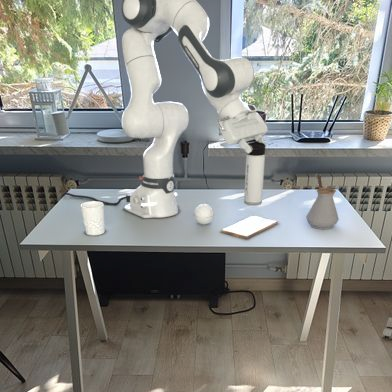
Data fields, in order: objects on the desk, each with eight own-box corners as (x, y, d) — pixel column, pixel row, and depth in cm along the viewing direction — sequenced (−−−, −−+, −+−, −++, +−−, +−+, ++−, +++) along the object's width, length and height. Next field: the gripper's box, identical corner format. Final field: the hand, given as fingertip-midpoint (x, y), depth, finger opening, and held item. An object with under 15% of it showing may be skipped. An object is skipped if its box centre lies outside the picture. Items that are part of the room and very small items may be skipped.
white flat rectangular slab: (221, 232, 179) (221, 229, 178) (252, 217, 191) (253, 215, 191) (246, 239, 173) (246, 236, 172) (277, 223, 186) (277, 221, 185)
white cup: (96, 237, 175) (92, 209, 170) (79, 233, 179) (75, 205, 173) (110, 230, 181) (108, 203, 175) (94, 227, 184) (91, 199, 179)
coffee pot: (340, 231, 179) (347, 188, 170) (308, 231, 179) (313, 188, 170) (327, 212, 196) (333, 172, 188) (298, 212, 197) (302, 172, 188)
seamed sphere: (192, 221, 189) (192, 201, 185) (212, 220, 189) (212, 200, 185) (195, 230, 180) (195, 210, 176) (216, 229, 181) (216, 209, 177)
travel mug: (261, 200, 180) (265, 141, 169) (261, 206, 175) (265, 145, 164) (244, 199, 181) (247, 141, 170) (243, 205, 175) (246, 145, 164)
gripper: (221, 112, 158) (245, 149, 158) (257, 105, 171) (279, 139, 172) (210, 126, 163) (233, 161, 163) (246, 118, 176) (267, 151, 176)
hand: (257, 150), depth 167 cm, fingers closed on travel mug, 6 cm apart
